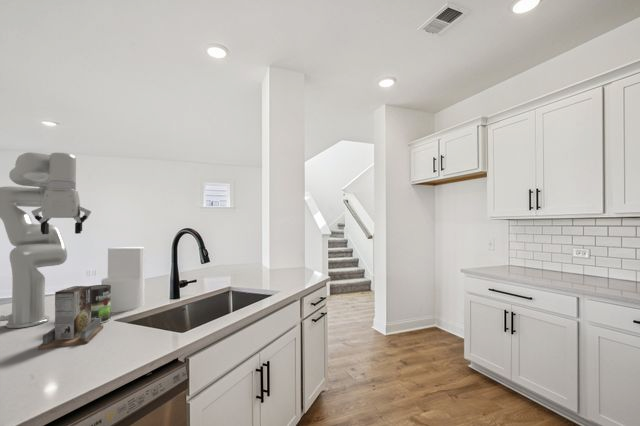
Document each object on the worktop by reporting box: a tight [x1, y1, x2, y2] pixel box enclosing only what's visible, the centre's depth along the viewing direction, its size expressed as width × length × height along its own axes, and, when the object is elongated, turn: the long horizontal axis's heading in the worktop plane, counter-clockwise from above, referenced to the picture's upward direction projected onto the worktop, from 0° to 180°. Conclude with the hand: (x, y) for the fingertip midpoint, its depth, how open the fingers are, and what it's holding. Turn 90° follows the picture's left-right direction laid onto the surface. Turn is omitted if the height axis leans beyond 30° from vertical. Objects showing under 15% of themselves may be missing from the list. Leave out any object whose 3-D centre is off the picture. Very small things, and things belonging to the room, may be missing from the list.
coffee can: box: [90, 284, 112, 325], centre depth 123 cm, size 10×10×14 cm
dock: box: [37, 318, 104, 351], centre depth 106 cm, size 13×16×4 cm
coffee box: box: [54, 285, 92, 340], centre depth 106 cm, size 9×6×16 cm
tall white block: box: [100, 246, 146, 313], centre depth 145 cm, size 17×17×28 cm
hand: (61, 233), depth 110 cm, fingers open, 9 cm apart
